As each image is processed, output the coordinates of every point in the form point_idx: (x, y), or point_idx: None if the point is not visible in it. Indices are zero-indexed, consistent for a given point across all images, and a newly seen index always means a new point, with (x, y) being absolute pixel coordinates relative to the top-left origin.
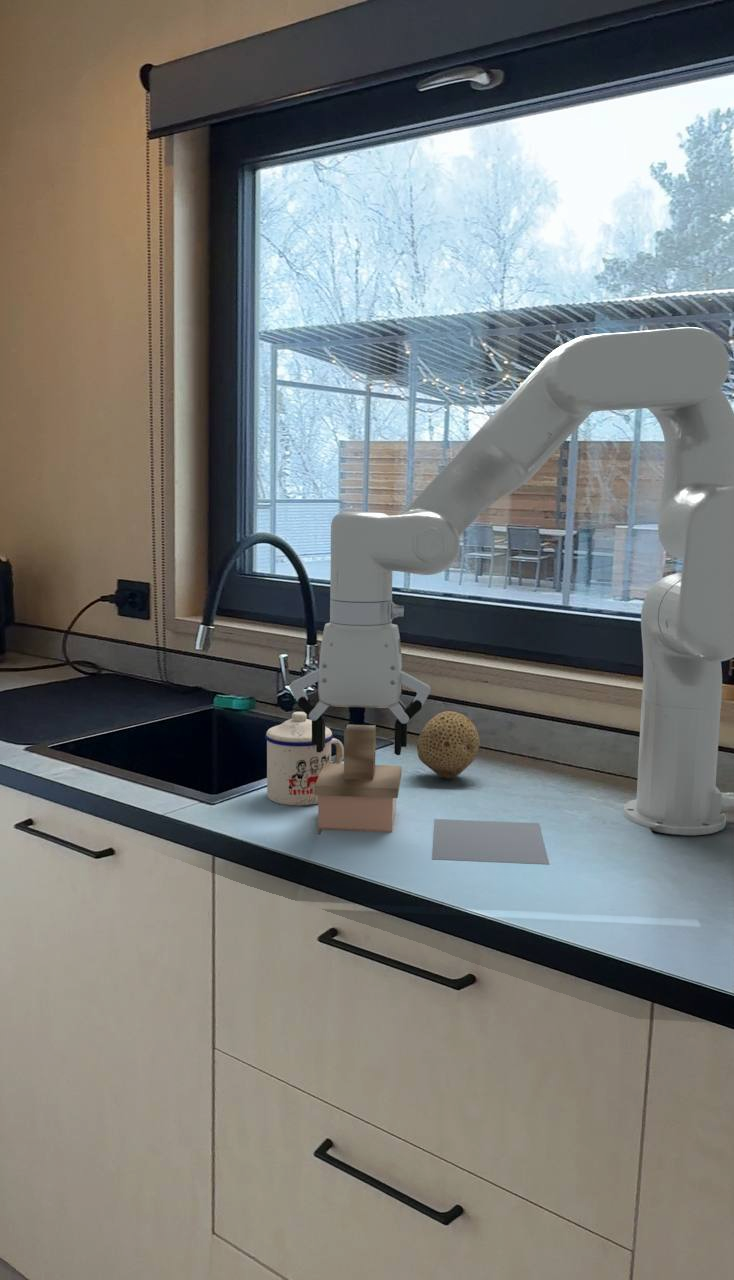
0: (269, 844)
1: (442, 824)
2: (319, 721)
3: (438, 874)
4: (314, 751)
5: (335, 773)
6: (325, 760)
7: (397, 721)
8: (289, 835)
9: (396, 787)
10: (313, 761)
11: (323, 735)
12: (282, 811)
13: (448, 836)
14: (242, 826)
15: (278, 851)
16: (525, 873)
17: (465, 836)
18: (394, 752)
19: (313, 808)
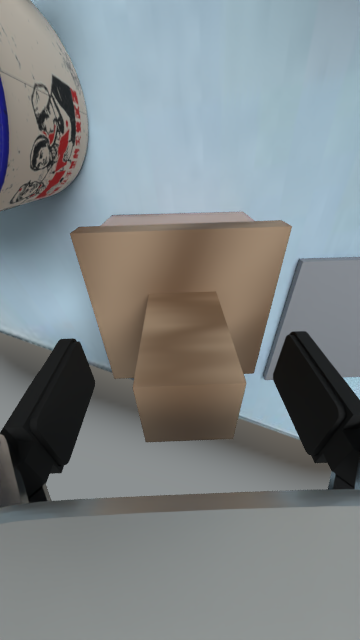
0: (87, 355)
1: (307, 284)
2: (57, 471)
3: (264, 390)
4: (2, 197)
5: (129, 315)
6: (42, 146)
7: (326, 457)
8: (97, 329)
9: (252, 369)
10: (20, 196)
11: (76, 401)
12: (34, 232)
13: (301, 326)
14: (19, 309)
15: (106, 368)
16: (345, 380)
17: (323, 322)
18: (274, 380)
19: (81, 203)
